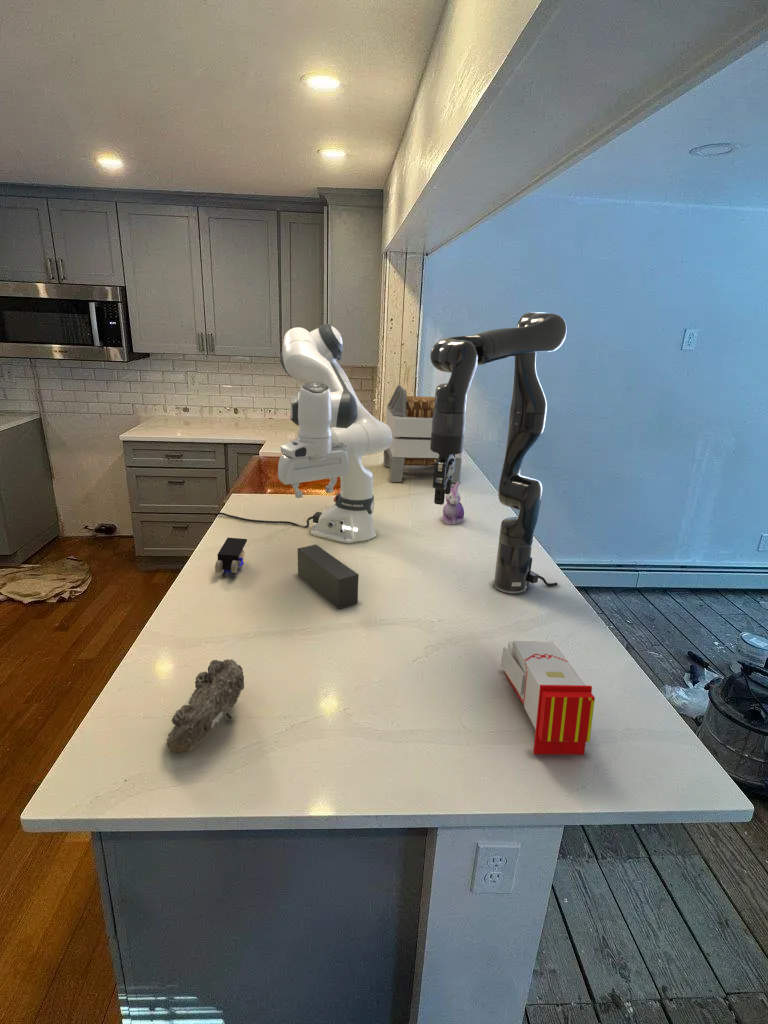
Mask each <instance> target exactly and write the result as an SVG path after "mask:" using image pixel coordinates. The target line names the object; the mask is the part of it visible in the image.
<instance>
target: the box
mask: <svg viewBox="0 0 768 1024" xmlns="http://www.w3.org/2000/svg"><path fill="white" fill-rule="evenodd" d="M297 576H298V577H299V578H300V579H302V580H303V581H304V582H305V583H306V584H307V585H309V586H310V587H311V588H313V590H315V591H316V592H317V593H318V594H319V595H321V596H322V597H323V598H324V599H326V600H327V601H328V602H329V603H330V604H332V605H333V606H334V607H336V609H337V610H340V609H343V608H346V607H350V606H353V605H356V604H358V603H359V601H358V599H359V573H357V572H356V571H355V570H353V569H352V568H350V567H349V566H347V565H346V564H345V563H343V562H342V561H340V560H339V559H337V558H336V557H335V556H333V555H332V554H330V553H329V552H328V551H326V550H325V549H323V548H322V547H321V546H319V545H318V544H312V545H307V546H302V547H298V548H297Z"/></svg>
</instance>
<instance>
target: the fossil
mask: <svg viewBox="0 0 768 1024" xmlns="http://www.w3.org/2000/svg"><path fill="white" fill-rule="evenodd" d="M243 670H244V669H243V667H242V665H240V664H237V662H236V661H235V660H234V659H232V658H231V659H227V658H226V659H224V660H223V661H222V660H217V659H212V660H211V661H210V663H209V665H208V666H207V671H201V672H199V673H198V674H197V675H196V676H195V680H194V684H195V685H194V687H195V689H194V690H193V693H192V694H191V697H190V698H189V700H188V704H184V705H182V706H181V707H180V709H177V710H176V711H175V713H174V715H173V716H172V718H171V723H172V724H173V727H172V730H171V731H170V732H168V734H167V738H166V741H167V742H166V745H167V749H168V750H169V751H173V752H174V753H176V754H178V753H182V752H188V751H189V752H192V751H193V750H195V748H196V747H197V746H199V744H200V743H201V742H203V741H204V740H205V739H206V738H207V737H208V736H209V735H210V734H211V733H212V732H214V730H215V729H217V727H218V726H219V724H220V722H221V721H222V720H223V719H224V718H225V716H226V717H227V719H229V720H233V717H232V715H230V714H229V710H230V709H231V708H234V706H235V704H236V703H237V702H238V699H239V697H240V695H241V693H242V691H243V690H245V689H244V688H245V675H244V671H243Z"/></svg>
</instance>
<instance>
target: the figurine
mask: <svg viewBox="0 0 768 1024" xmlns="http://www.w3.org/2000/svg"><path fill="white" fill-rule="evenodd" d="M459 487H460V482H456V483H454V485H451V491H450V494H445V501H446V504H445V505H444V506H443V508H442V517H441V520H442V521H443V522H444V524H447V525H456V524H461V523H462V522H463V521H464V516H465V509H464V506H463V504H462V503H461V502H460V501H461V499H462V497H461V495H460V493H459Z"/></svg>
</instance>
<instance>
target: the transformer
mask: <svg viewBox="0 0 768 1024" xmlns="http://www.w3.org/2000/svg"><path fill="white" fill-rule="evenodd" d="M407 394H408V393H407V390H406V389H404V388H403V387H402V385H399V384H398V385H397V386H396V388H395V390H394V392H393V394H392V395H391V398H390V400H389V402H388V404H387V405H386V413H385V414H386V415H385V424H387V425H388V426H389V428H390V430H391V432H392V442H391V445H390V447H389V448H388V449H386V450H384V451H383V466H384V467H388V468H389V475H388V476H389V477H388V478H389V480H390V482H391V483H402V482H403V475H404V469H405V466H406V467H407V466H411V467H412V466H413V467H415V466H416V467H417V466H418V467H435V462H436V460H438V457H439V454H438V453H435V452H433V451H431V449H430V443H431V429H432V419H433V414H434V405H435V396H415V395H414V396H413V395H412V396H411V395H407ZM462 453H463V451H462V452H461V453H460V454H455V466H454V468H455V469H454V471H455V472H454V474H453V477H452V480H451V484H455V483H456V482H459V483H461V472H462V461H463V460H462ZM450 479H451V478H450Z"/></svg>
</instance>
